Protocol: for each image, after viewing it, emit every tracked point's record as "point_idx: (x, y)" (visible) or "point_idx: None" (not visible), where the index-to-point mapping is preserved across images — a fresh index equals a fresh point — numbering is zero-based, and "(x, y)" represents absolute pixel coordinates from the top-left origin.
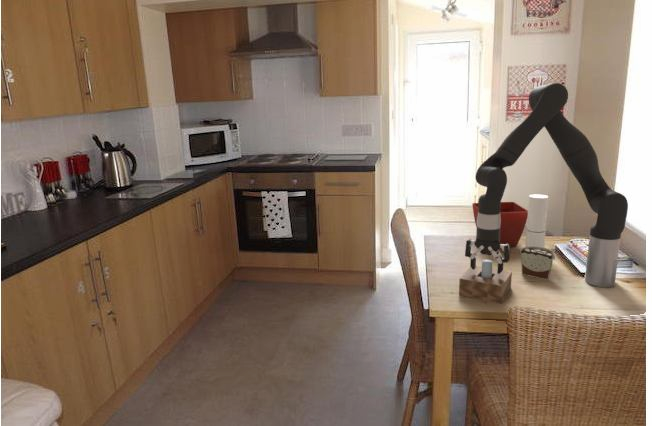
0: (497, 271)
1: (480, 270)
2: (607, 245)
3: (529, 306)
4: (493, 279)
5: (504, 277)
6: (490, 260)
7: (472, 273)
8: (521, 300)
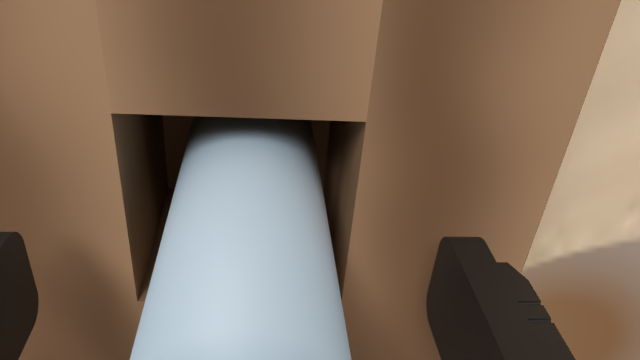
0: (434, 338)
1: (87, 65)
2: None
3: (633, 237)
4: (366, 304)
5: (505, 195)
6: (295, 349)
7: (36, 239)
8: (590, 161)
